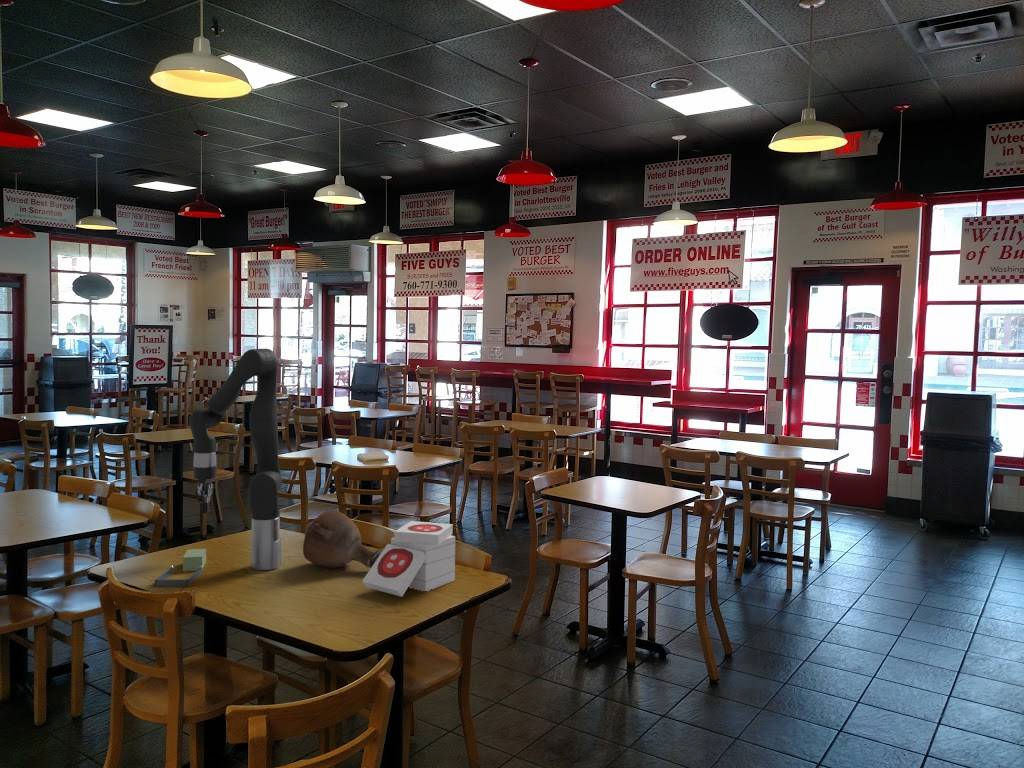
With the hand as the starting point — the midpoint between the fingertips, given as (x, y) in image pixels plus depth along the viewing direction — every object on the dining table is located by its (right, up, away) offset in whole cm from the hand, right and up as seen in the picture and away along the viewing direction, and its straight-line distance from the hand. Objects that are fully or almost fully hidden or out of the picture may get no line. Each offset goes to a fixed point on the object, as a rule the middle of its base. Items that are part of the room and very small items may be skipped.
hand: (204, 512), depth 274 cm
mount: (+1, -18, -23) cm, 29 cm away
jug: (+51, -18, -8) cm, 55 cm away
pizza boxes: (+77, -20, -26) cm, 84 cm away
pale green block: (0, -17, -9) cm, 20 cm away
